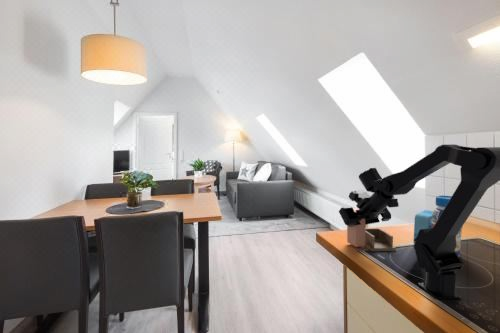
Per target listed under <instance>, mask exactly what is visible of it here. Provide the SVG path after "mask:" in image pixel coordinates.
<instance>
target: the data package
mask: <svg viewBox="0 0 500 333" xmlns="http://www.w3.org/2000/svg"><path fill="white" fill-rule="evenodd" d="M433 212H434V210H433V211H432V210H427V209H426V210H423V211H420V212H418V213H416V214H415V215H414V225H413V226H414V227H413V244H414V243H415V242H416V241H414V239H415V238H416V237H417V236H418V233H419V231H420V229H425V228H432V224H431V222H432V219H433V216H432V214H433Z"/></svg>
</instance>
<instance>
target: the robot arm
mask: <svg viewBox="0 0 500 333" xmlns="http://www.w3.org/2000/svg"><path fill="white" fill-rule="evenodd" d="M449 164H452V165H455V166H459V167H460V168H459V169H460V170H459V171H460V182H459V184H458V185H457V186H456V188H455V190H454V192H453V194H452V195H451V196H452V197H451V199H450V200H449V202H448V204H447V205H446V207H445V208H444V210H443V212H442V213H441V215H440V217H439V218H438V220H437V222H436V223H435V225H434V227H433V228H425V229H420V231H419V233H418V236H417V237H416V238H415V239H414V238H413V249H414V251H415V255H416V259H417V263H418V267H419V268H420V269H423V282H418V286H419V287H420V288H422V289H423V290H424V291H425V292H427V293H428V295H430V296H432V297H433V298H434V299H436V300H443V299H445V300H446V299H447V300H449V299H461V298H462V296H461V295H460V294H459V293H457V292H456V280H457V279H456V278H457V276H456V275H457V274H456V273H455V272H456V271H462V269H463V268H464V266H465V263H464V262H463V260H462V259H461V258H460V256H458V255H457V254H456V252H455V248H456V235H457V233H458V232H459V230H460V229H461V227H462V228H463V226H464V225H465V223H466V222H467V220H468V218H469V217H470V216H471V214H472V213H473V211H474V210H475V208H476V206H477V205H478V203H479V202H480V201H481V200H482V198H483V196H484V195H485V193H486V192H487V190H488V189H489V188H491V187H492V186H494V185H495V184H497V183H498V182H500V146H496V147H495V146H492V147H491V146H489V147H487V146H486V147H484V146H483V147H472V146H471V147H470V146H463V145H458V144H452V143H451V144H441V145H439V146H437V147H436V148H435V149H434V150H433V151H431V152H430V153H428V154H426V155H425V156H423V157H422V158H420V159H419V160H417V161H416V162H415V163H413V164H411V165H410V166H409V167H407V168H406V169H405V168H404V170H402V171H399V172H396V173H392V174H389V175H388V176H385V177H382V176H381V174H380V173H379V171H378V169H377V167H370V168H369V169H367V170H365V171H363V172H361V173H360V174H359V175H358V179H359V180H360V182H361V184H362V185H363V187H364V189H365V190H364V189H355V190H351V192H349V195H348V198H349V200H351V201H352V202H355V203H356V208H358V209H359V210H356V212H354V210H353V208H354V207H353V206H342V207H340V209H339V210H338V213H339V214H340V217H341V219H342V221H343V223H344V225H346V226H349V227H352V226H356V225H361V223H360V221H361V220H362V219H365V226H366V225H371V224H377V223H380V220H381V222H388V221H390V220H391V219H392V213H391V212H390V210H389V209H388V208H397V207H400V206H399V205H400V204H399V202H398V198H397V197H395V196H402V195H403V196H405V195H407V194H408V193H409V192H411V191H412V190H413V189H414V188H415V186H416V184H417V183H419V181H421V180H423V179H425V178H427V177H428V176H430V175H431V174H434V173H436V172H437V171H438V170H440V169H442V168H444V167H446V166H448V165H449ZM368 192H369V193H370V192H371V193H372V194H371V195H370V194H369V193H368ZM379 216H381V219H379ZM414 241H416V242H415V243H414Z"/></svg>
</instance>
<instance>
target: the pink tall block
mask: <svg viewBox="0 0 500 333" xmlns="http://www.w3.org/2000/svg"><path fill="white" fill-rule="evenodd" d="M352 208H353V210H354V212H356V210H359V208H357V207H352ZM360 223H361V225H356V226H352V227H349V226H347V225H346V226H347V227H346V231H347V232H346V233H347V234H346V235H347V236H346V240H347V243H348V244H350V245H352V246H354V247H355V248H358V247H363V246H364V247H366V246H365V228H366V225H365V219H362V220H361V221H360Z"/></svg>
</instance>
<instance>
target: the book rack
mask: <svg viewBox="0 0 500 333" xmlns="http://www.w3.org/2000/svg"><path fill="white" fill-rule="evenodd" d="M364 247H366V248H367V249H368V250H369V249H370V251H371V252H388V251H389V252H390V251H391V252H394V251H396V252H397V247H395V246H394V236H393V235H391V233H388V232H386V231H385V230H383V229H382V228H377V227H376V228H372V227H370V228H369V227H368V228H366V227H365V246H364Z"/></svg>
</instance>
